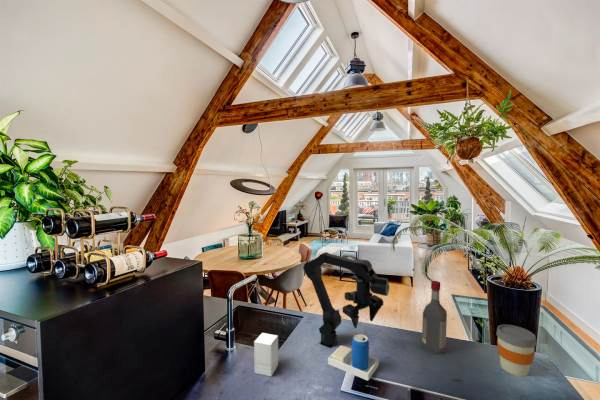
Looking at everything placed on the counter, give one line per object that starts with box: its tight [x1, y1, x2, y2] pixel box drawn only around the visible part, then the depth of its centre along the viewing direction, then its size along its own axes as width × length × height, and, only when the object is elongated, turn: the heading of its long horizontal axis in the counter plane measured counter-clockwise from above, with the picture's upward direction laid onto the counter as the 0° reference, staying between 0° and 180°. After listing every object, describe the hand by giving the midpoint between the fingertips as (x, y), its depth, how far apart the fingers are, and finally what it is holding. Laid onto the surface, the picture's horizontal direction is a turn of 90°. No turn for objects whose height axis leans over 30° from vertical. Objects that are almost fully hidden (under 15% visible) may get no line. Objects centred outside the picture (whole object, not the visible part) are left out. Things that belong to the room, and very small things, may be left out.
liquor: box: [421, 280, 448, 355], centre depth 127 cm, size 9×9×30 cm
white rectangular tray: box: [327, 345, 380, 381], centre depth 114 cm, size 17×11×3 cm, turn 55°
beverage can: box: [351, 333, 370, 371], centre depth 112 cm, size 6×6×12 cm
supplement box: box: [253, 332, 279, 377], centre depth 112 cm, size 7×7×13 cm
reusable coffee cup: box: [495, 324, 537, 377], centre depth 113 cm, size 13×12×15 cm
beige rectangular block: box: [331, 345, 352, 364], centre depth 117 cm, size 5×8×4 cm, turn 145°
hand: (363, 324), depth 123 cm, fingers open, 9 cm apart
